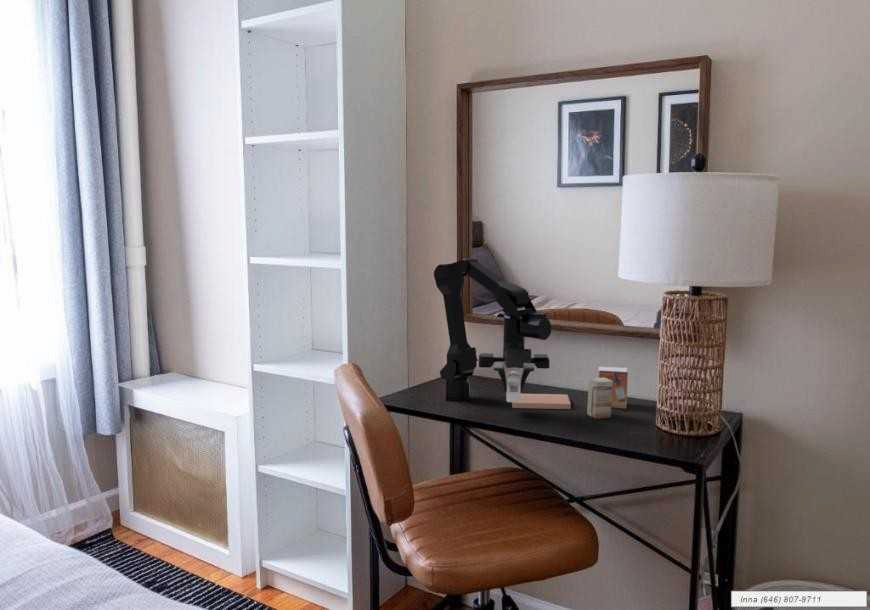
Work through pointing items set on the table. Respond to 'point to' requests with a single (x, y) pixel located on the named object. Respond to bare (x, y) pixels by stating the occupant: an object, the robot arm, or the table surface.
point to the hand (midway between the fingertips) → (513, 392)
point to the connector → (513, 387)
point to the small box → (616, 384)
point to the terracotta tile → (543, 401)
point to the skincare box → (599, 397)
